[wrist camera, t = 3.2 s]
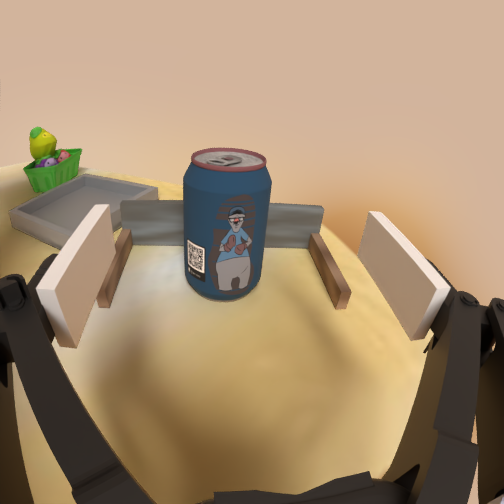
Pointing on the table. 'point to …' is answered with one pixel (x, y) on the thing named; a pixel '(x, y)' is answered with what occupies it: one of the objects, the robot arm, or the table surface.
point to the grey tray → (75, 206)
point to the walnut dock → (172, 233)
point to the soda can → (225, 221)
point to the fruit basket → (50, 162)
